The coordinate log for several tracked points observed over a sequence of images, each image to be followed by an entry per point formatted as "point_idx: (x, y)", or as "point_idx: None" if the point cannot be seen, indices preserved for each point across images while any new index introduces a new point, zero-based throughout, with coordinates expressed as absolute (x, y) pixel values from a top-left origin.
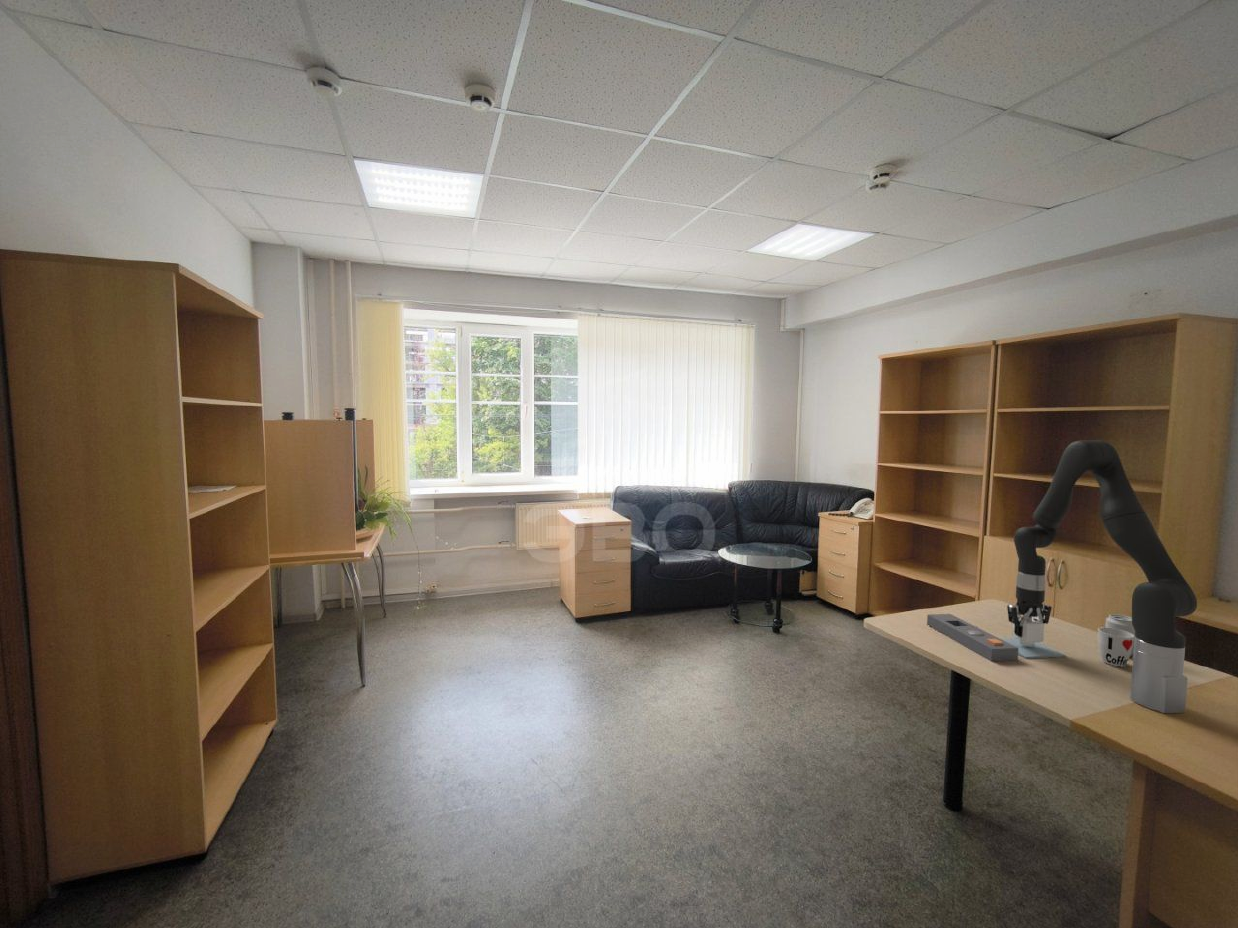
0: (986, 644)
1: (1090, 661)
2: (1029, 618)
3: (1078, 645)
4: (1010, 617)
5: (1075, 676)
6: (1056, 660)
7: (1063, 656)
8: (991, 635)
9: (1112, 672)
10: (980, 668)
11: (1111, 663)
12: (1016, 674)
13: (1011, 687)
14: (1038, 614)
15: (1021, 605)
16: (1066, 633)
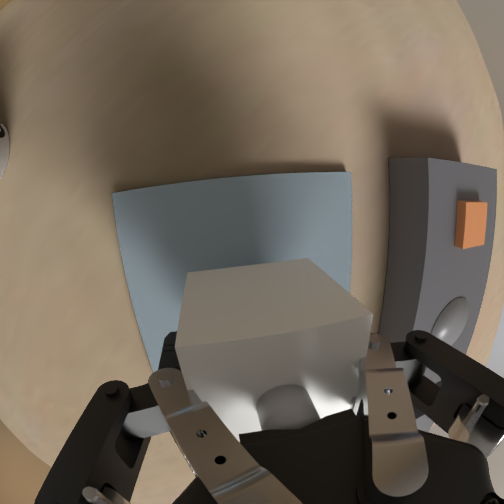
0: (491, 210)
1: (46, 154)
2: (306, 409)
3: (9, 321)
4: (429, 387)
5: (258, 3)
6: (200, 145)
7: (127, 191)
8: (422, 313)
9: (59, 54)
10: (493, 131)
11: (3, 127)
12: (445, 71)
13: (472, 38)
14: (232, 453)
15: (485, 466)
16: (18, 401)
